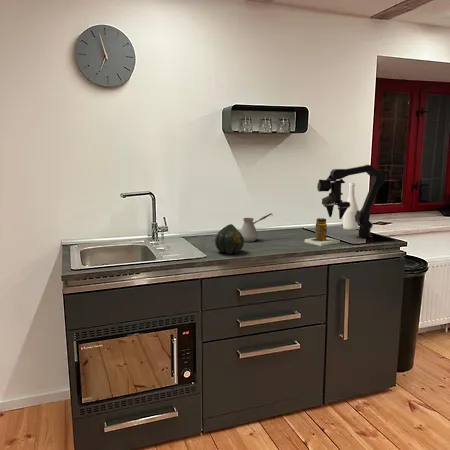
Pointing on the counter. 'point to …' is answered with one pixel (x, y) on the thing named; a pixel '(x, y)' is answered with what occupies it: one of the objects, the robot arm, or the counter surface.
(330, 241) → the board
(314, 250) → the counter surface
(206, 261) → the counter surface
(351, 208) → the wine bottle
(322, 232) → the condiment
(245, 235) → the coffee pot
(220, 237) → the squash
